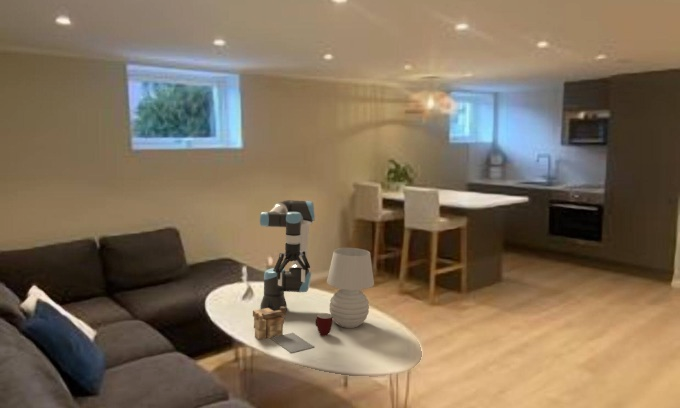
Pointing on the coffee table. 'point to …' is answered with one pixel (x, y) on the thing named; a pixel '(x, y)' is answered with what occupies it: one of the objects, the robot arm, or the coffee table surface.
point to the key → (274, 313)
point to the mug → (324, 323)
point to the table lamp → (350, 286)
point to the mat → (292, 342)
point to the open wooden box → (265, 328)
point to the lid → (270, 321)
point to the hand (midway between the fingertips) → (291, 283)
